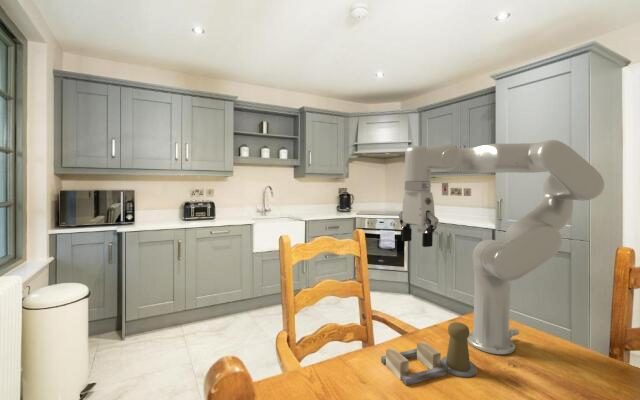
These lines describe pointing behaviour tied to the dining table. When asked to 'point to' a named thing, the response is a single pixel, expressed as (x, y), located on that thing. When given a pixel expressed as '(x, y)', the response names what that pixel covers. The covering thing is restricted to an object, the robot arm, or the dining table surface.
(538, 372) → the dining table surface
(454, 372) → the coaster
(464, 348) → the pepper mill
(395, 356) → the grey and cream frame
